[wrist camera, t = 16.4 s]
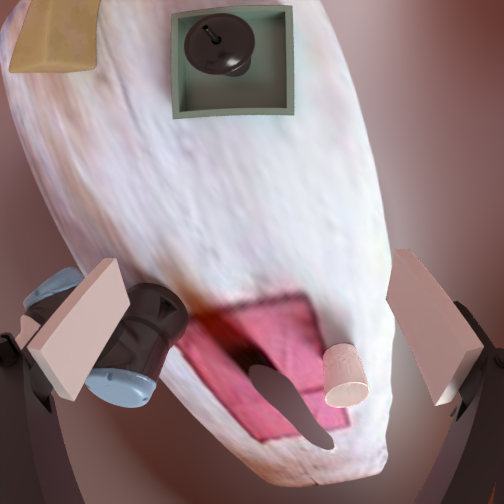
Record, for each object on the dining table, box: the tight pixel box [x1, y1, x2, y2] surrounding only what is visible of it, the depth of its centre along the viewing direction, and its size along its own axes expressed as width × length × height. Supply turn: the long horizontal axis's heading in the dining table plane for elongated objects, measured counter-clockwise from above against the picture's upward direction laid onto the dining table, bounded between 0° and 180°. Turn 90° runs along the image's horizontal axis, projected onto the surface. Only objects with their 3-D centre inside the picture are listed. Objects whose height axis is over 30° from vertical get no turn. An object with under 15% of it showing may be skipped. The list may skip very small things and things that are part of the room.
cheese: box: [9, 0, 100, 73], centre depth 26 cm, size 22×10×15 cm, turn 170°
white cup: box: [323, 343, 370, 408], centre depth 57 cm, size 10×10×12 cm
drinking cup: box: [184, 13, 255, 77], centre depth 28 cm, size 8×8×20 cm
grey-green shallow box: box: [171, 5, 294, 119], centre depth 35 cm, size 17×17×5 cm
